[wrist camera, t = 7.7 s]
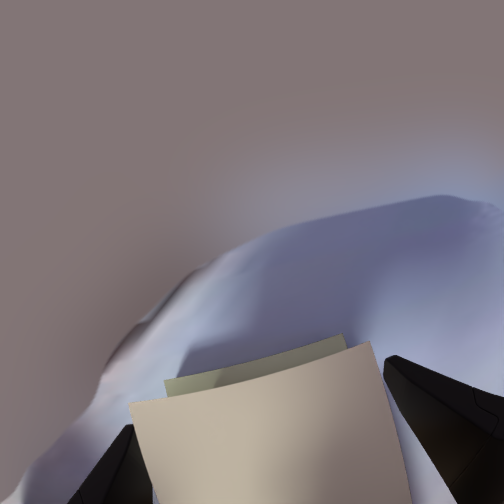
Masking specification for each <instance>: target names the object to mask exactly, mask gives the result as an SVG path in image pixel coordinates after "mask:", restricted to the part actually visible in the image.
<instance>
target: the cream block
mask: <svg viewBox="0 0 504 504" xmlns="http://www.w3.org/2000/svg"><path fill="white" fill-rule="evenodd" d="M128 404H129V409H130V413H131V417H132V421H133V425H134V428H135V432H136V436H137V439H138V443H139V446H140V449H141V453H142V456H143V459H144V462H145V465H146V468H147V471H148V474H149V477H150V480H151V482H152V485H153V488H154V491H155V493H156V496H157V498H158V501H159V503H160V504H412V499H411V494H410V489H409V483H408V478H407V474H406V469H405V464H404V460H403V456H402V451H401V447H400V443H399V439H398V435H397V431H396V427H395V423H394V420H393V416H392V412H391V409H390V405H389V401H388V398H387V395H386V391H385V388H384V384H383V381H382V378H381V375H380V371H379V368H378V365H377V362H376V359H375V356H374V353H373V350H372V347H371V344H370V341H367V342H365V343H362V344H360V345H357V346H354V347H352V348H349V349H347V350H344V351H341V352H338V353H336V354H333V355H330V356H327V357H324V358H321V359H318V360H315V361H312V362H309V363H306V364H303V365H300V366H297V367H294V368H290V369H287V370H284V371H280V372H277V373H274V374H270V375H266V376H263V377H259V378H255V379H252V380H248V381H244V382H240V383H236V384H232V385H227V386H223V387H219V388H214V389H209V390H205V391H200V392H195V393H190V394H184V395H179V396H173V397H167V398H161V399H154V400H148V401H140V402H133V403H128Z"/></svg>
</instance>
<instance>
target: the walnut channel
mask: <svg viewBox="0 0 504 504" xmlns="http://www.w3.org/2000/svg"><path fill="white" fill-rule="evenodd" d="M347 349H348V348H347V345H346V342H345V339H344V336H343V333H341V334H338V335H336V336H333V337H330V338H327V339H324V340H321V341H318V342H315V343H312V344H308V345H305V346H302V347H299V348H296V349H292V350H289V351H286V352H282V353H279V354H275V355H272V356H268V357H265V358H261V359H257V360H253V361H250V362H246V363H242V364H238V365H234V366H230V367H226V368H221V369H217V370H213V371H208V372H203V373H199V374H194V375H189V376H184V377H179V378H174V379H168V380H164V383H165V388H166V392H167V396H168V397H173V396H179V395H184V394H190V393H195V392H200V391H205V390H209V389H214V388H219V387H223V386H227V385H232V384H236V383H240V382H244V381H248V380H252V379H255V378H259V377H263V376H266V375H270V374H274V373H277V372H280V371H284V370H287V369H290V368H294V367H297V366H300V365H303V364H306V363H309V362H312V361H315V360H318V359H321V358H324V357H327V356H330V355H333V354H336V353H338V352H341V351H344V350H347Z"/></svg>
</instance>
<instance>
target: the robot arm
mask: <svg viewBox="0 0 504 504" xmlns="http://www.w3.org/2000/svg"><path fill="white" fill-rule="evenodd" d="M383 377H384V380H385V382H386V384H387V386H388V388H389V390H390V392H391V394H392V396H393V398H394V400H395V402H396V404H397V406H398V408H399V410H400V412H401V414H402V415H403V417H404V418H405V420H406V421H407V423H408V424H409V426H410V428H411V429H412V431H413V432H414V434H415V435H416V437H417V438H418V440H419V442H420V443H421V445H422V446H423V448H424V449H425V451H426V453H427V454H428V456H429V457H430V459H431V461H432V462H433V464H434V465H435V467H436V469H437V470H438V472H439V474H440V475H441V477H442V479H443V480H444V482H445V483H446V485H447V487H448V488H449V490H450V492H451V494H452V495H453V497H454V499H455V500H456V502H457V504H504V397H501V396H498V395H494V394H491V393H488V392H485V391H482V390H480V389H477V388H475V387H473V388H472V386H469V385H467V384H464V383H462V382H459V381H457V380H454V379H452V378H450V377H447V376H445V375H442V374H440V373H437V372H435V371H433V370H430V369H428V368H425V367H423V366H421V365H418V364H416V363H414V362H411V361H409V360H407V359H404V358H402V357H400V356H397V355H393V356H390V357H388V358H386V359H385V361H384V371H383ZM67 504H153V496H152V482H151V480H150V477H149V474H148V471H147V468H146V465H145V462H144V459H143V456H142V453H141V449H140V446H139V443H138V439H137V436H136V432H135V428H134V425H133V424H128V425H126V426H125V427H124V428H123V429H122V431H121V432H120V433H119V435H118V436H117V437H116V439H115V440H114V441H113V443H112V444H111V446H110V447H109V448H108V450H107V451H106V452H105V454H104V455H103V456H102V458H101V459H100V460H99V462H98V463H97V464H96V466H95V467H94V469H93V470H92V471H91V473H90V474H89V475H88V477H87V478H86V479H85V481H84V482H83V483H82V485H81V486H80V487H79V490H77V491H76V493H75V494H74V495H73V497H72V498H71V499H70V501H69V502H68V503H67Z"/></svg>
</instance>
